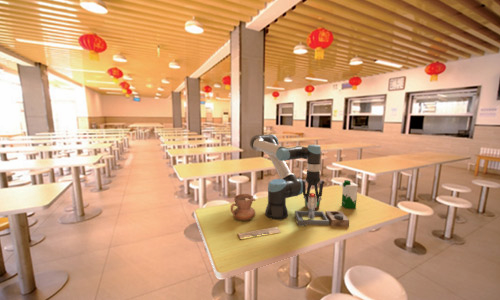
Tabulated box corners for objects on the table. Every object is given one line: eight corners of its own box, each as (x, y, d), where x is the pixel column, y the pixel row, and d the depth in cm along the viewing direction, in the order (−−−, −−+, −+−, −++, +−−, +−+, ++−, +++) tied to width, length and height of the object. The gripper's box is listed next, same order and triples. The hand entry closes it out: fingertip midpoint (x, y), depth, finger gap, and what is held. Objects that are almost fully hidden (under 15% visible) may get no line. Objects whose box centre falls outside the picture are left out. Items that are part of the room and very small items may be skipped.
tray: (298, 225, 125) (298, 220, 125) (294, 216, 138) (295, 211, 138) (329, 226, 125) (329, 221, 124) (322, 216, 138) (322, 211, 137)
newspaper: (276, 228, 124) (276, 225, 124) (281, 234, 117) (281, 231, 117) (237, 235, 116) (237, 232, 116) (241, 242, 110) (240, 239, 110)
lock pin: (309, 219, 129) (310, 195, 127) (307, 216, 133) (308, 192, 131) (315, 219, 129) (316, 195, 127) (313, 216, 133) (314, 193, 130)
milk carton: (339, 205, 155) (341, 179, 152) (352, 205, 155) (353, 179, 152) (344, 210, 147) (346, 182, 144) (357, 210, 147) (360, 182, 144)
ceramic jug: (250, 210, 147) (249, 191, 145) (261, 218, 134) (260, 197, 132) (226, 216, 138) (225, 196, 136) (236, 226, 126) (235, 203, 124)
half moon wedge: (301, 210, 147) (301, 196, 146) (303, 206, 153) (303, 193, 151) (319, 213, 142) (320, 199, 140) (321, 210, 147) (321, 196, 146)
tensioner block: (331, 227, 123) (332, 217, 122) (325, 218, 135) (325, 208, 134) (348, 228, 123) (349, 217, 122) (340, 218, 135) (341, 208, 134)
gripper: (300, 171, 123) (299, 209, 127) (329, 171, 123) (327, 209, 126) (298, 168, 131) (297, 204, 134) (325, 168, 130) (323, 204, 133)
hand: (311, 206), depth 130 cm, fingers closed on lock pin, 4 cm apart
